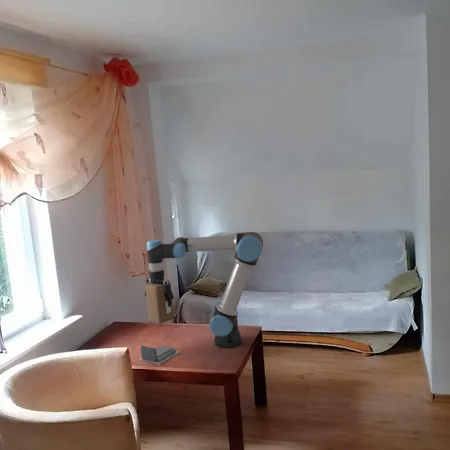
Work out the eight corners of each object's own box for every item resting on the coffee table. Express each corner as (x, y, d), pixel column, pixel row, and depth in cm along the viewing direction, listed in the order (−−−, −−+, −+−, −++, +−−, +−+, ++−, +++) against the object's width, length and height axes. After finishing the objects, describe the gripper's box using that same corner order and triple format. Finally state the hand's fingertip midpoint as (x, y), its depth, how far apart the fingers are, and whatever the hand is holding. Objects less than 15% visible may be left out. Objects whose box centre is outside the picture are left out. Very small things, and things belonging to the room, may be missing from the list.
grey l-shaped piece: (179, 352, 286) (178, 339, 285) (159, 364, 273) (157, 350, 272) (159, 348, 294) (158, 335, 293) (138, 360, 281) (137, 346, 280)
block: (148, 321, 284) (144, 284, 281) (163, 315, 291) (159, 279, 288) (159, 324, 277) (156, 287, 274) (174, 319, 284) (171, 282, 280)
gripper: (178, 270, 276) (182, 311, 279) (144, 266, 289) (148, 306, 293) (168, 273, 270) (172, 316, 273) (134, 270, 283) (139, 310, 287)
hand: (160, 311), depth 283 cm, fingers closed on block, 11 cm apart
